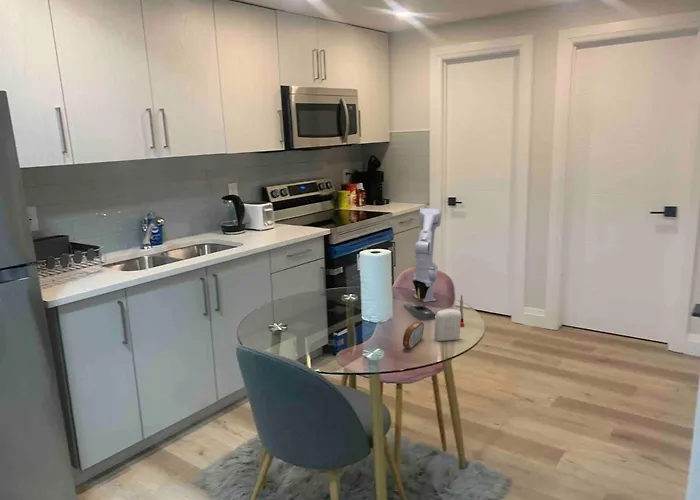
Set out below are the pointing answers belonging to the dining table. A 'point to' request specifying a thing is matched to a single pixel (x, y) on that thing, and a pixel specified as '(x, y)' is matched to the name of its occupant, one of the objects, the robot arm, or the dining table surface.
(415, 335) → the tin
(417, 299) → the pin
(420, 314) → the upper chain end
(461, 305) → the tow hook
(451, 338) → the photo printer
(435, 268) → the robot arm
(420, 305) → the lower chain end
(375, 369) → the dining table surface
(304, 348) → the dining table surface
